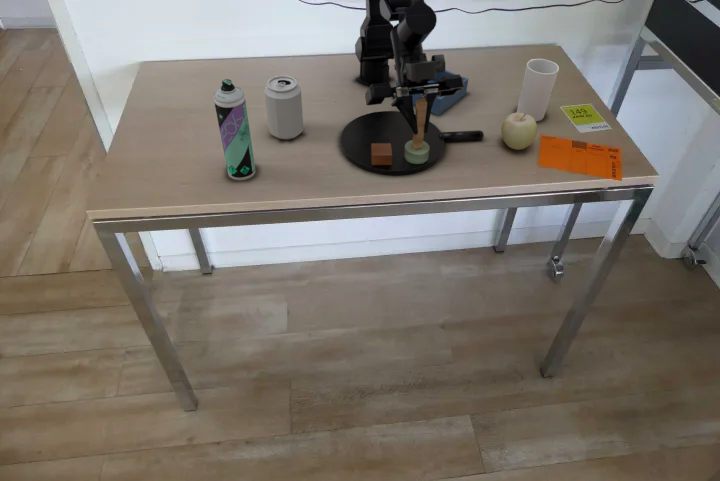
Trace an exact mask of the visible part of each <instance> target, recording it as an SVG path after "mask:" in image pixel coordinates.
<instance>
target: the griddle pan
mask: <svg viewBox="0 0 720 481" xmlns="http://www.w3.org/2000/svg"><path fill="white" fill-rule="evenodd" d="M413 134H414V132H413V131H412V129H411V127H410V126H409V124H408V122H407V121H406V119H405V118H404V116H403V115H402V114H401V113H400V111H399V110H382V111H379V110H378V111H374V112H373V111H372V112H369V113H366V114H361V115H360V116H357V117H356V118H354V119H353V120H351V121H349V122H348V123H347V124H346V125H345V126H344V128H343V130H342V131H341V135H340V148H341V151H342V153H343V155H344V156H345V158H346V159H347V160H348V161H349V162H351V163H352V164H353V165H355V166H356V167H358V168H360V169H362V170H364V171H367V172H370V173H373V174H378V175H384V176H406V175H407V176H409V175H413V174H417V173H420V172H423V171H425V170H428V169H429V168H431V167H432V166H434V165H435V164H436V163H437V162H439V160H441V157H442V156H443V153H444V148H445V142H446V143H447V142H465V141H480V140H482V139H483V138H484V136H485V133H484V131H482V130H479V129H478V130H477V129H476V130H460V131H459V130H457V131H440V129H439V127H437V126H436V125H435V124H434V123H432V122H431V121H429V126H428V132H427V133H424V136H423V141H425V142H426V143H428V145H429V147H430V149H429V157H428V160H427V161H426V162H424V163H422V164H413V163H410V162H408V161H407V160H406V159H405V158H404V151H405V144H406V143H407V142H408V141H411V140H413ZM372 143H391V149H392V165H372V161H371V144H372Z"/></svg>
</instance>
